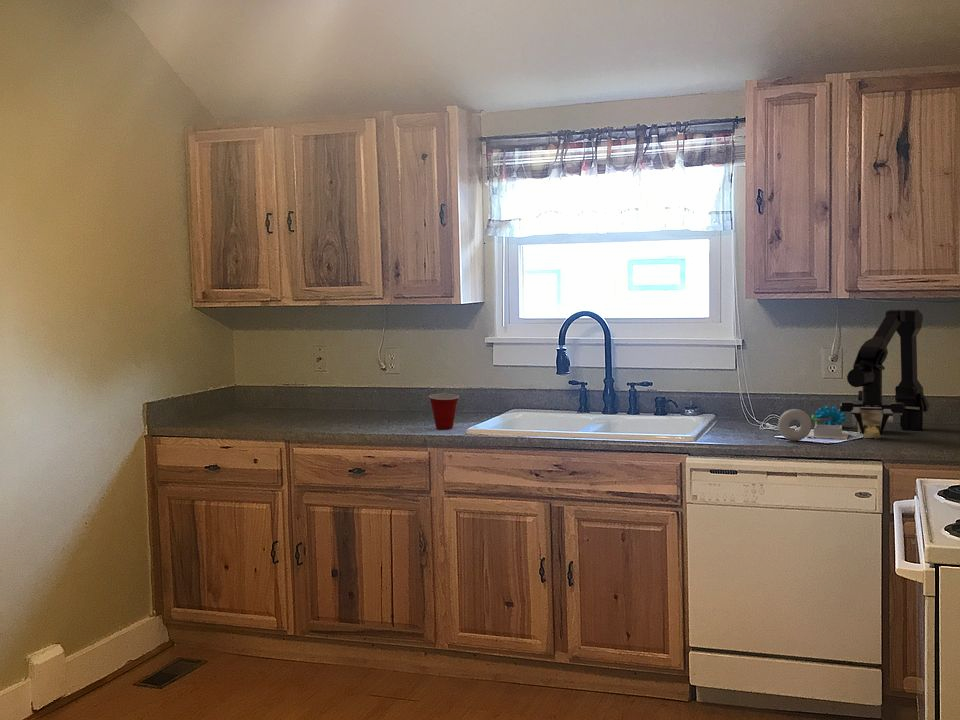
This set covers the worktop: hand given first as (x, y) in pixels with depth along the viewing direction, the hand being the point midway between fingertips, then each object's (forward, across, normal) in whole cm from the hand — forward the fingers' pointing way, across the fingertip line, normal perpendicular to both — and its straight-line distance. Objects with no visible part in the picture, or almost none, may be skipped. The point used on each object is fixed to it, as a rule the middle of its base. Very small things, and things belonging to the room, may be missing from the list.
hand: (871, 434), depth 313 cm
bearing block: (+1, +1, -14) cm, 14 cm away
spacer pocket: (+1, +13, 0) cm, 13 cm away
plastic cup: (+1, +140, +16) cm, 141 cm away
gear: (+1, +14, -23) cm, 27 cm away
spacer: (+1, 0, 0) cm, 1 cm away
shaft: (-1, 0, -14) cm, 14 cm away
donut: (+1, +22, +13) cm, 26 cm away
